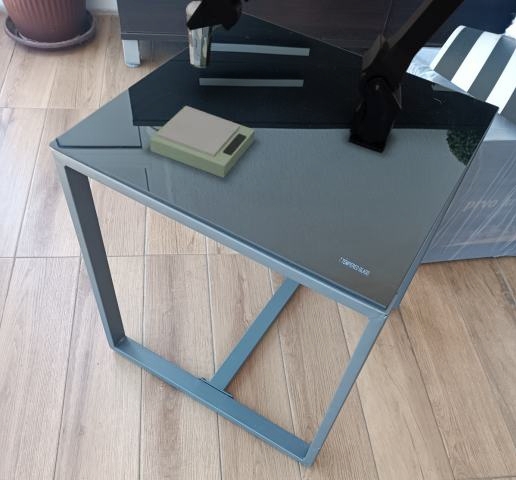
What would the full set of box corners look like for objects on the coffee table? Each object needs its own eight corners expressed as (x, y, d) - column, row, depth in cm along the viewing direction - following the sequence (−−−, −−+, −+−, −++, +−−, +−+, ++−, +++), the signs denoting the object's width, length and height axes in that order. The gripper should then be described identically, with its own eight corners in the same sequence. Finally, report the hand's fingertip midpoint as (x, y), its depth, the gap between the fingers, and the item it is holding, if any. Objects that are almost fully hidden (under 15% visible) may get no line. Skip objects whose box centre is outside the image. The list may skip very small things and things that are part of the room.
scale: (253, 141, 84) (255, 126, 82) (223, 178, 77) (224, 162, 75) (185, 117, 86) (185, 101, 84) (150, 151, 79) (149, 134, 77)
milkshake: (186, 72, 82) (185, 3, 74) (186, 56, 85) (186, -11, 77) (213, 74, 83) (215, 6, 75) (213, 58, 86) (215, -8, 78)
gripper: (244, -128, 71) (171, -48, 80) (217, -95, 60) (136, -7, 69) (289, -50, 77) (217, 15, 86) (272, -7, 66) (191, 63, 75)
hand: (192, 20), depth 79 cm, fingers closed on milkshake, 5 cm apart
